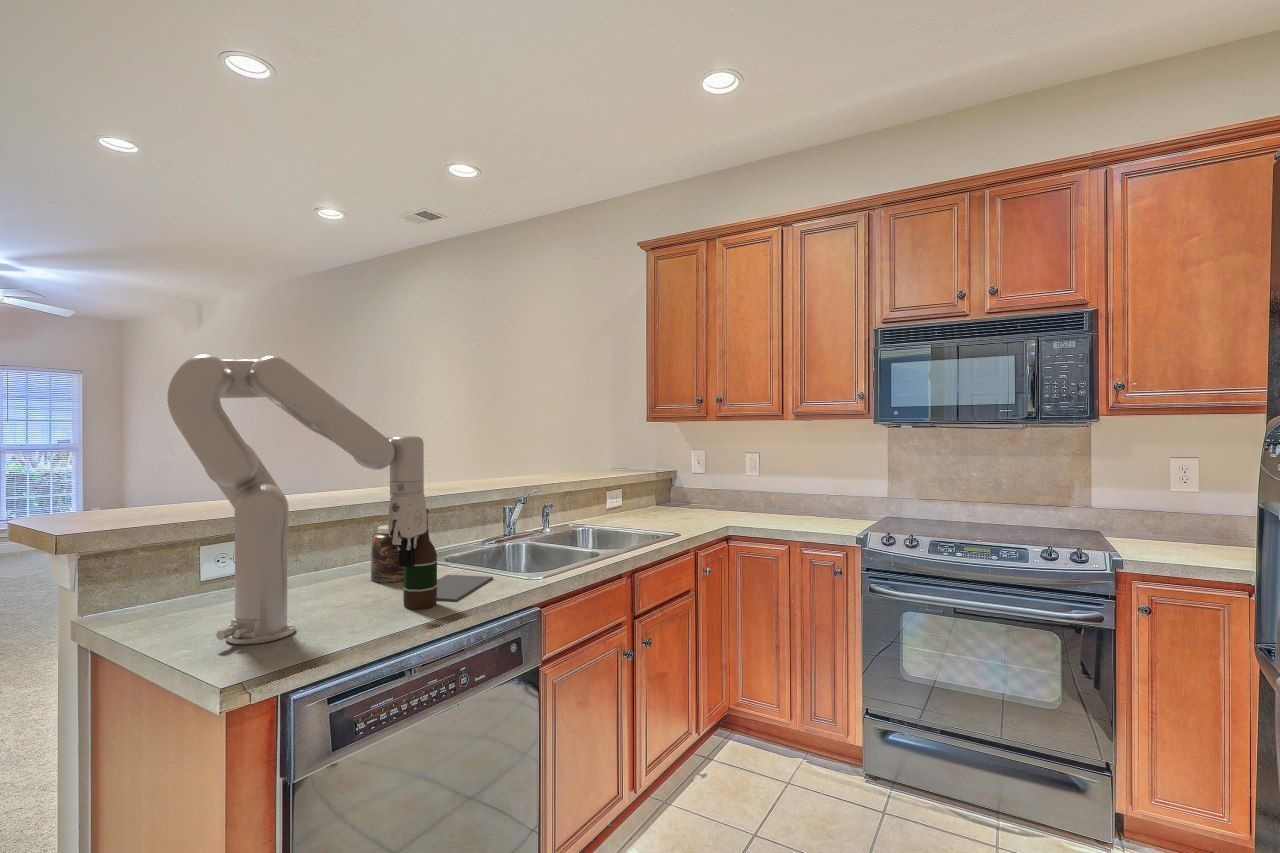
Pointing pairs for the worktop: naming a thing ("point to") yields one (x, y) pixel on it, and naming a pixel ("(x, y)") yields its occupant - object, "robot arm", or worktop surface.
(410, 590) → the beer bottle
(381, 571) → the jar
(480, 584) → the mat
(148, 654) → the worktop surface
